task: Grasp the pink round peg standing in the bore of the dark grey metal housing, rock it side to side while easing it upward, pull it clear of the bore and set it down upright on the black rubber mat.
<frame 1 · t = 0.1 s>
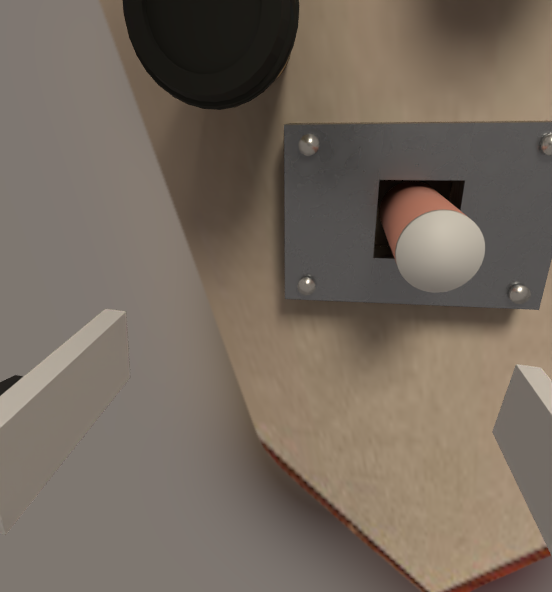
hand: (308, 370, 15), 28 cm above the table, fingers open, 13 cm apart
housing: (409, 211, 39), on the table
pink round peg: (409, 210, 39), resting in housing
coffee cup: (254, 46, 36), on the table
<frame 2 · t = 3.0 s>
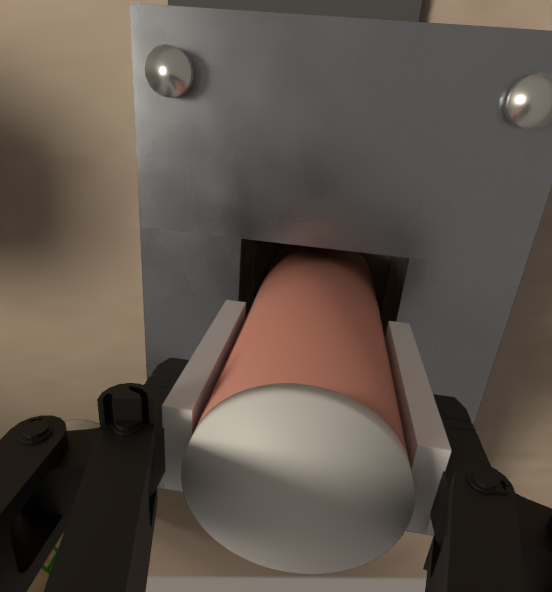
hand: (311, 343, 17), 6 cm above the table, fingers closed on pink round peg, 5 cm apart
housing: (318, 288, 22), on the table
pink round peg: (318, 287, 22), resting in housing, touching gripper
coffee cup: (92, 455, 29), on the table
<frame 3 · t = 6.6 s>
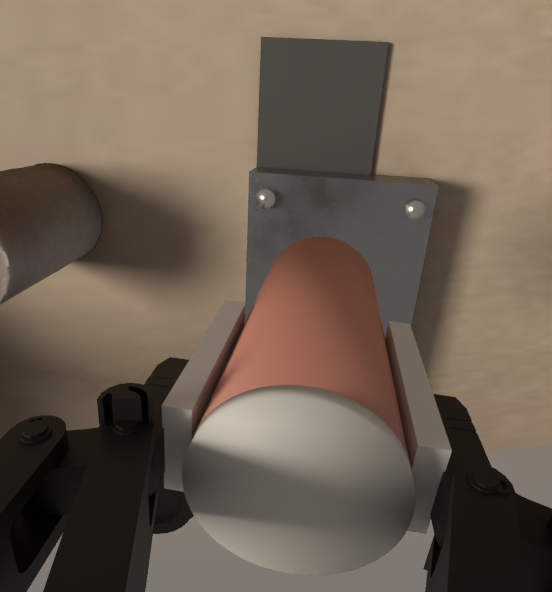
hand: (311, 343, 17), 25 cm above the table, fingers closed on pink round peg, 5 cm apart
housing: (329, 288, 42), on the table
pillar candle: (59, 214, 43), on the table
pink round peg: (319, 288, 22), point 19 cm above the table, touching gripper
mat: (318, 108, 36), on the table
coffee cup: (198, 389, 49), on the table
when the fingers open (8 cm above the table, at t = 10.2 s): pink round peg drops 2 cm, resting on mat.
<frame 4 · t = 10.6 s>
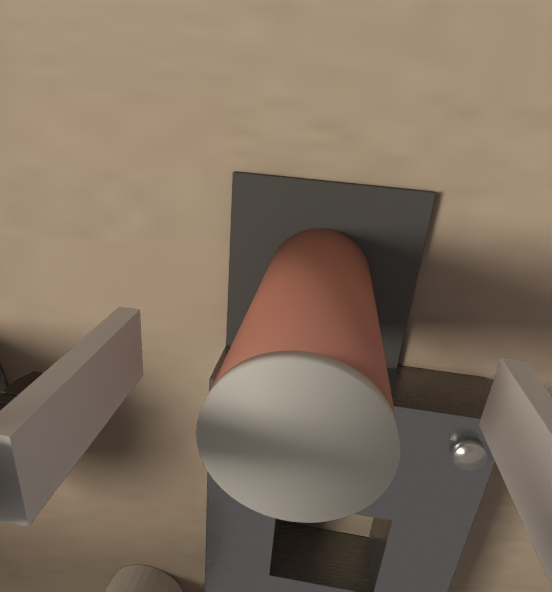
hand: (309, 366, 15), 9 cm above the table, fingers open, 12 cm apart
housing: (328, 496, 30), on the table
pink round peg: (318, 277, 23), resting on mat
mat: (320, 274, 24), on the table
coffee cup: (149, 587, 37), on the table
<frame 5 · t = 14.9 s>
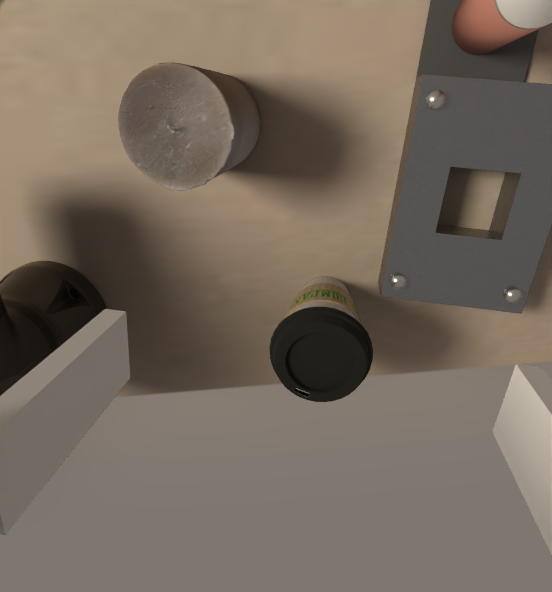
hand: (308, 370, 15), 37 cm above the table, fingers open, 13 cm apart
housing: (466, 197, 47), on the table
pillar candle: (218, 124, 47), on the table
pink round peg: (482, 21, 40), resting on mat
mat: (481, 22, 40), on the table
coffee cup: (324, 299, 54), on the table
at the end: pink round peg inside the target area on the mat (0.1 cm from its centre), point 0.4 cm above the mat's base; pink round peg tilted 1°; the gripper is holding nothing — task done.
